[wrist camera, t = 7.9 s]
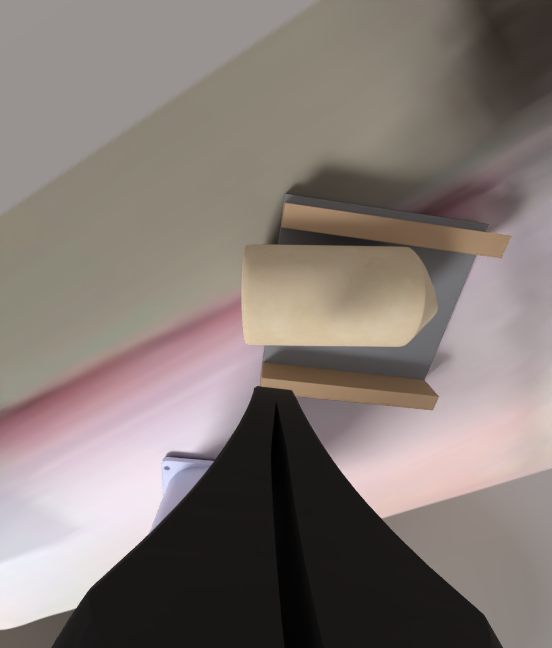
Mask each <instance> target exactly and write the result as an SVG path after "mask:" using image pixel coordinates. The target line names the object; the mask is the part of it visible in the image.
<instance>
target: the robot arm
mask: <svg viewBox="0 0 552 648" xmlns="http://www.w3.org/2000/svg"><path fill="white" fill-rule="evenodd" d="M161 465H162V487H163V498H162V501H161V503H160V506H159V509H158V511H157V514H156V517H155V519H154V522H153V525H152V527H151V530H150V532H149V534H148V535H147V536H146V537H145V538H144V539H143V540H142V541H141V542H140V543H139V544H138V545H137V546H136V547H135V548H134V549H133V550H132V551H130V552H129V553H128V554H127V555H126V556H125V557H124V558H123V559H122V560H121V561H119V562H118V563H117V564H116V565H115V566H114V567H113V568H112V569H111V570H110V571H109V572H107V573H106V574H105V575H104V576H103V577H102V578H101V579H100V580H99V581H98V582H96V583H95V584H94V585H93V586H92V587H91V588H90V589H89V591H88V592H87V593H86V595H85V596H84V598H83V599H82V601H81V602H80V604H79V605H78V607H77V608H76V609H75V611H74V613H73V614H72V616H71V617H70V618H69V620H68V622H67V623H66V625H65V626H64V628H63V629H62V631H61V633H60V634H59V636H58V637H57V639H56V641H55V643H54V644H53V646H52V648H503V647H502V645H501V644H500V642H499V640H498V638H497V636H496V635H495V633H494V631H493V630H492V628H491V626H490V624H489V623H488V621H487V619H486V617H485V616H484V614H483V613H481V612H480V611H479V610H478V609H477V608H476V607H475V606H473V605H472V604H471V603H470V602H469V601H468V600H467V599H466V598H464V597H463V596H462V595H461V594H460V593H459V592H458V591H456V590H455V589H454V588H453V587H452V586H451V585H450V584H448V583H447V582H446V581H445V580H444V579H443V578H442V577H440V576H439V575H438V574H437V573H436V572H435V571H434V570H433V569H431V568H430V567H429V566H428V565H427V564H426V563H425V562H424V561H423V560H422V559H421V558H420V557H419V556H418V555H417V554H416V553H415V552H414V551H413V550H411V549H410V548H409V547H408V546H407V545H406V544H405V543H404V542H403V541H402V540H401V539H400V538H399V537H398V536H397V535H396V534H395V533H394V532H393V531H392V530H391V529H390V528H389V526H388V525H387V524H386V523H385V522H384V521H383V520H382V519H381V518H380V517H379V516H378V515H377V514H376V512H375V511H374V510H373V509H372V508H371V507H370V506H369V505H368V504H367V503H366V502H365V500H364V499H363V498H362V497H361V496H360V495H359V493H358V492H357V491H356V490H355V489H354V487H353V486H352V485H351V484H350V482H349V481H348V480H347V479H346V477H345V476H344V475H343V473H342V472H341V471H340V469H339V468H338V467H337V465H336V464H335V463H334V461H333V460H332V458H331V457H330V455H329V454H328V452H327V451H326V450H325V448H324V447H323V445H322V443H321V442H320V440H319V439H318V437H317V435H316V434H315V432H314V430H313V429H312V427H311V425H310V424H309V422H308V420H307V418H306V417H305V415H304V413H303V411H302V409H301V407H300V405H299V403H298V401H297V399H296V397H295V395H294V393H293V391H292V390H287V389H279V388H270V387H261V386H257V387H255V388H254V392H253V395H252V398H251V401H250V403H249V406H248V408H247V410H246V412H245V414H244V416H243V417H242V419H241V421H240V423H239V425H238V427H237V428H236V430H235V431H234V433H233V434H232V436H231V438H230V439H229V441H228V442H227V444H226V445H225V447H224V448H223V450H222V451H221V453H220V454H219V455H218V457H217V458H216V459H215V461H209V460H197V459H186V458H174V457H165V458H164V459H163V460H162V463H161Z"/></svg>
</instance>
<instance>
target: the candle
mask: <svg viewBox="0 0 552 648" xmlns="http://www.w3.org/2000/svg"><path fill="white" fill-rule="evenodd" d="M437 310H438V304H437V300H436V294H435V289H434V286H433V284H432V282H431V279H430V277H429V274H428V272H427V269H426V267H425V265H424V264H423V262H422V261H421V259H420V258H419V256H418V255H417V254H416V253H415V252H414V251H413V250H412V249H411V248H409V247H392V246H331V245H270V244H263V245H246V247H245V252H244V257H243V267H242V324H243V333H244V338H245V342H246V344H250V345H285V346H378V347H401V346H404V345H406V344H407V343H408V342H410V341H411V340H412V339H413V338H414V337H415V336H416V335H417V333H418V332H419V331H420V330H421V329H422V328H423V327H424V326H425V325H426V324H427V323H428V322H429V321H430V320H431V319H432V318H433V317H434V316H435V314H436V313H437Z"/></svg>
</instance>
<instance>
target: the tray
mask: <svg viewBox="0 0 552 648" xmlns="http://www.w3.org/2000/svg"><path fill="white" fill-rule="evenodd" d="M488 225H489V224H485V223H478V222H472V221H465V220H458V219H451V218H445V217H438V216H431V215H424V214H418V213H411V212H404V211H397V210H391V209H384V208H377V207H370V206H364V205H357V204H350V203H343V202H336V201H330V200H323V199H316V198H309V197H303V196H296V195H289V194H285V195H284V202H283V210H282V218H281V225H280V233H279V240H278V245H331V246H392V247H409V248H411V249H412V250H413V251H414V252H415V253H416V254H417V255H418V256H419V258H420V259H421V261H422V262H423V264H424V265H425V267H426V269H427V272H428V274H429V277H430V279H431V282H432V284H433V286H434V289H435V294H436V300H437V304H438V310H437V313H436V314H435V316H434V317H433V318H432V319H431V320H430V321H429V322H428V323H427V324H426V325H425V326H424V327H423V328H422V329H421V330H420V331H419V332H418V333H417V335H416V336H415V337H414V338H413V339H412V340H411V341H410V342H408V343H407V344H406V345H404V346H401V347H378V346H285V345H265V347H264V355H263V362H262V370H261V379H260V381H261V384H260V386H261V387H270V388H279V389H287V390H292V391H293V393H294V395H295V396H298V397H308V398H318V399H328V400H337V401H347V402H357V403H367V404H376V405H386V406H396V407H406V408H415V409H425V410H433V409H434V406H435V404H436V402H437V400H438V397H439V396H438V395H437V394H436V393H435V392H434V391H433V389H432V388H431V387H430V386H429V385H428V384H427V383H426V381H425V380H424V379H425V377H426V375H427V372H428V370H429V367H430V365H431V362H432V360H433V358H434V355H435V353H436V350H437V348H438V346H439V343H440V341H441V338H442V336H443V333H444V331H445V329H446V326H447V324H448V321H449V319H450V316H451V314H452V312H453V309H454V307H455V304H456V302H457V300H458V297H459V295H460V292H461V290H462V287H463V285H464V283H465V280H466V278H467V275H468V273H469V270H470V268H471V266H472V263H473V261H474V258H475V256H476V255H483V256H490V257H497V258H502V256H503V253H504V251H505V249H506V247H507V245H508V242H509V240H510V238H511V236H509V235H502V234H495V233H488V232H486V229H487V227H488Z"/></svg>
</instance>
